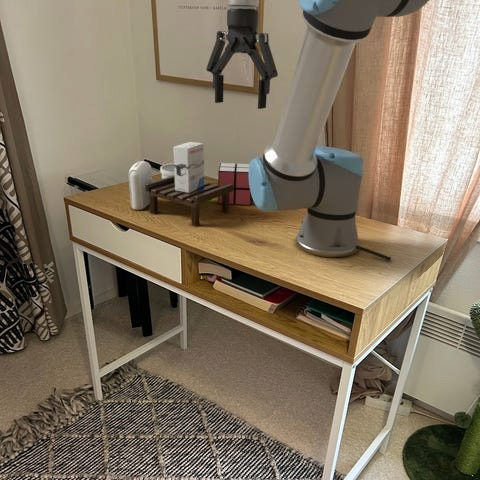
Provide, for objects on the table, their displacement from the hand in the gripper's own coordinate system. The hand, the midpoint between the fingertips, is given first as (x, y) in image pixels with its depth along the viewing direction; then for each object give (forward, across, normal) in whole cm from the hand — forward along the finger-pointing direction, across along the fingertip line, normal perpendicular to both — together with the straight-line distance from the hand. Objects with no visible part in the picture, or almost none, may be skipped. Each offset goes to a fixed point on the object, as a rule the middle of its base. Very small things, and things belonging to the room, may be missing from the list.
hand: (239, 105), depth 126 cm
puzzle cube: (+29, +7, -9) cm, 31 cm away
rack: (+29, +10, +9) cm, 32 cm away
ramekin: (+29, +27, -7) cm, 40 cm away
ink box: (+22, +10, +9) cm, 26 cm away
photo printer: (+29, +25, +13) cm, 40 cm away
